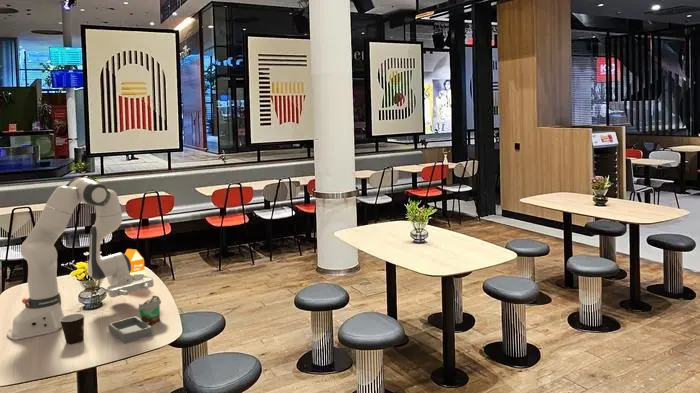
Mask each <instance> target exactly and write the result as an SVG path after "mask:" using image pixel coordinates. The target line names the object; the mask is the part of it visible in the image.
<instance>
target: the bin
mask: <svg viewBox="0 0 700 393" xmlns="http://www.w3.org/2000/svg"><path fill="white" fill-rule="evenodd" d="M107 326H108V332H109V333H110V334H111V335H113V336H114V337H115V338H116V339H118V340H119V341H120V342H122V344H124V345H125V344H127V343H130V342H134V341H137V340H140V339H143V338H148V337H151V336H153V328H152V327H153V326H152V325H148V324H147V323H145V322H144V321H142V320H141V318H140V317H138V316H136V315H134V316H132V317H127V318H125V319H122V320H117V321H113V322H110V323H108V325H107Z"/></svg>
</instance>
